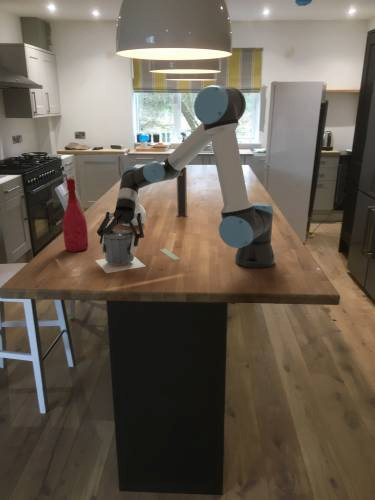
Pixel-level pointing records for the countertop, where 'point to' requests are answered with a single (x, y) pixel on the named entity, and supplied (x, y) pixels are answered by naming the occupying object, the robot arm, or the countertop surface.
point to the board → (113, 268)
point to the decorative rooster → (138, 210)
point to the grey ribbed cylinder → (118, 246)
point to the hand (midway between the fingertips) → (116, 252)
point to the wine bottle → (74, 222)
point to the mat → (169, 254)
